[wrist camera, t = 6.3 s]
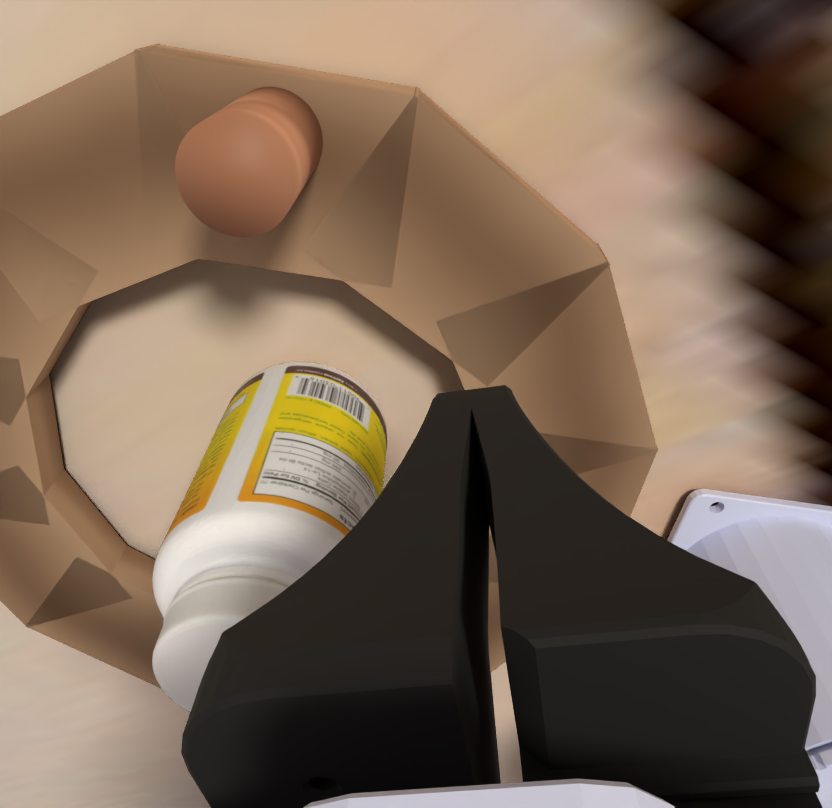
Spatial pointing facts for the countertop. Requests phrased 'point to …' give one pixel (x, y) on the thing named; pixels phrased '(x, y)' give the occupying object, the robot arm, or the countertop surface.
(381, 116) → the faceted tan ring
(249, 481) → the supplement bottle
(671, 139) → the countertop surface
